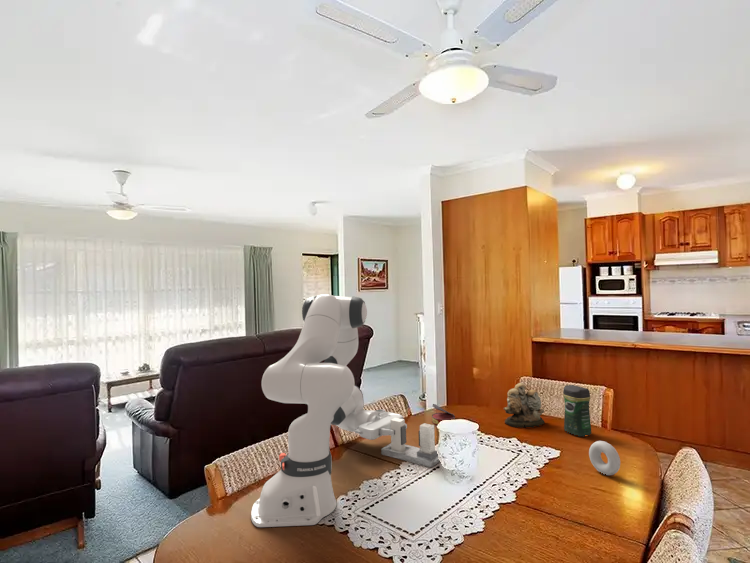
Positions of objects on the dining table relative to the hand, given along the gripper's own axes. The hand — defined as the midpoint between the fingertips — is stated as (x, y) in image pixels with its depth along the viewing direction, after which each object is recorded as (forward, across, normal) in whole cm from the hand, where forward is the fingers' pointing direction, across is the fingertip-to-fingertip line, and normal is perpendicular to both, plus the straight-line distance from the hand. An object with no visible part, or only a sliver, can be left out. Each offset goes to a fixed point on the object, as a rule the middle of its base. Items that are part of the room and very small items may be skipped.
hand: (400, 429), depth 150 cm
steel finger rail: (+5, 0, +8) cm, 10 cm away
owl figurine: (+25, +57, +9) cm, 63 cm away
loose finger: (-1, 0, +8) cm, 9 cm away
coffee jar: (+47, +56, +9) cm, 73 cm away
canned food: (-4, +39, +9) cm, 41 cm away
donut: (+61, +22, +9) cm, 65 cm away
